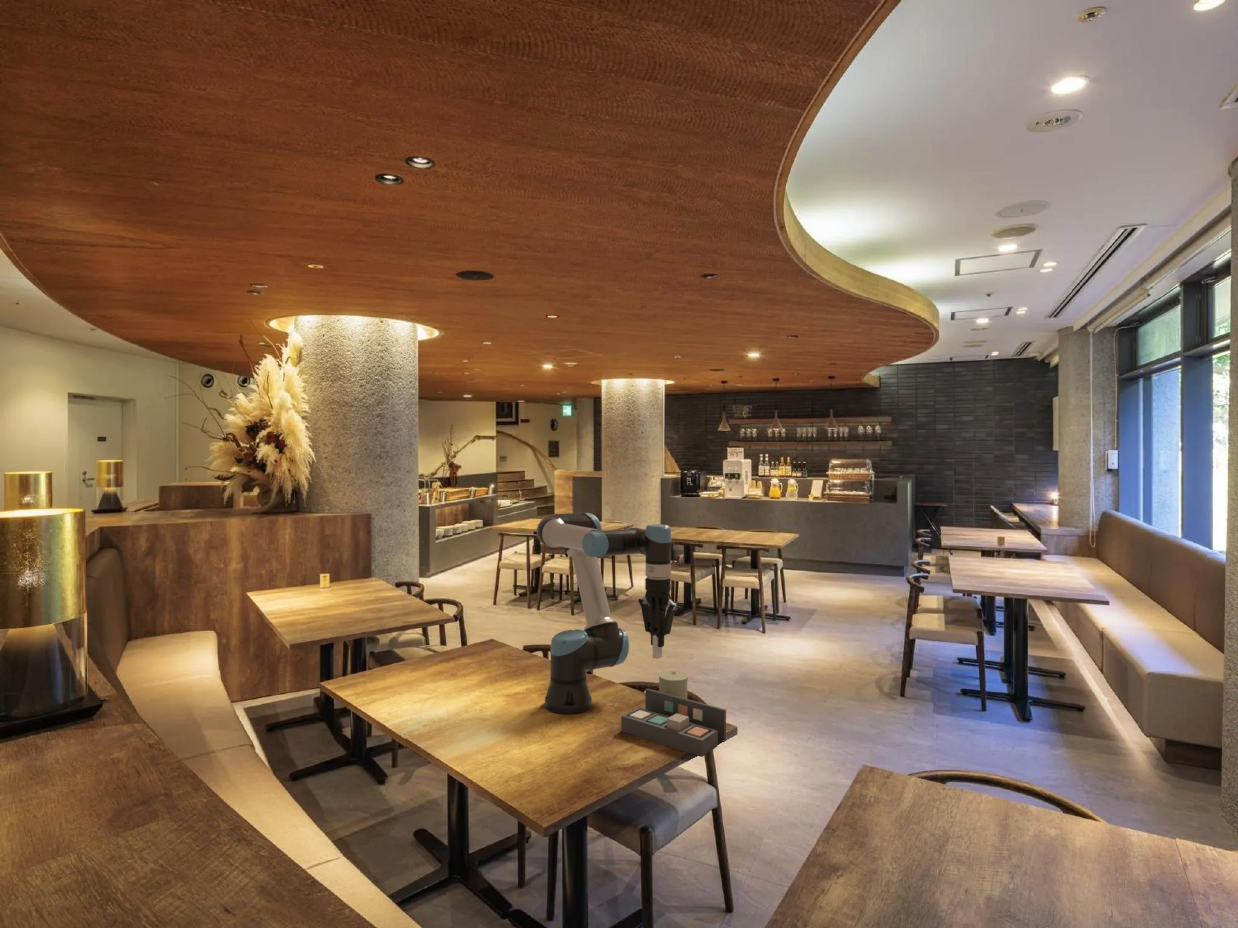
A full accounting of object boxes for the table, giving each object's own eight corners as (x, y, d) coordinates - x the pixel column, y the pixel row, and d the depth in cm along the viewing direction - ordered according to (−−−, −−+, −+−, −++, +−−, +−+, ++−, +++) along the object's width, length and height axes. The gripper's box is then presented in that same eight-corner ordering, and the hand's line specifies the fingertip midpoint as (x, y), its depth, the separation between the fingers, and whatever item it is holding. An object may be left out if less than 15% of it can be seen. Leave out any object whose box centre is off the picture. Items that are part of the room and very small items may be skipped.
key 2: (647, 734, 197) (648, 720, 197) (657, 728, 201) (657, 715, 201) (659, 737, 194) (660, 723, 194) (669, 732, 198) (669, 718, 198)
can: (687, 707, 220) (688, 670, 220) (687, 718, 211) (688, 679, 211) (658, 705, 221) (659, 668, 221) (657, 716, 212) (658, 678, 212)
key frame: (621, 730, 201) (621, 715, 201) (638, 721, 207) (638, 707, 207) (701, 756, 184) (702, 740, 184) (717, 746, 191) (717, 730, 191)
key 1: (629, 728, 201) (629, 714, 201) (639, 723, 205) (639, 709, 205) (641, 732, 198) (641, 718, 198) (651, 726, 202) (651, 713, 202)
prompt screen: (644, 718, 210) (645, 689, 210) (647, 717, 211) (647, 688, 211) (723, 742, 194) (724, 710, 193) (725, 740, 195) (726, 709, 194)
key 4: (686, 746, 189) (686, 731, 189) (695, 740, 193) (695, 726, 193) (699, 750, 187) (699, 735, 186) (708, 744, 191) (708, 730, 190)
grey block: (666, 732, 193) (667, 718, 193) (676, 726, 197) (676, 713, 197) (679, 736, 190) (679, 722, 190) (688, 730, 194) (689, 716, 194)
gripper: (632, 576, 203) (632, 655, 203) (668, 581, 194) (668, 664, 195) (648, 573, 209) (647, 650, 209) (683, 578, 200) (682, 658, 200)
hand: (657, 657), depth 202 cm, fingers closed
